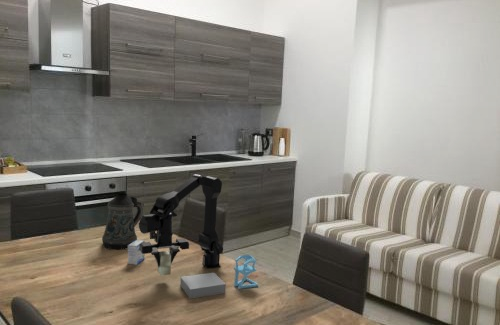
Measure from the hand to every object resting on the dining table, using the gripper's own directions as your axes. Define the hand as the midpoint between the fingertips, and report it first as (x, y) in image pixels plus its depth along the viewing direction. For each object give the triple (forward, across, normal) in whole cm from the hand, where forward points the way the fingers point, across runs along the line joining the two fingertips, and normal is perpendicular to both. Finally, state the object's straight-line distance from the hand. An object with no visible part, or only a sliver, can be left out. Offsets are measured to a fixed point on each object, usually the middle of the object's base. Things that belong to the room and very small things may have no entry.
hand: (164, 266), depth 175 cm
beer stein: (+6, +8, -51) cm, 52 cm away
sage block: (+3, 0, 0) cm, 3 cm away
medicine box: (+6, +6, -25) cm, 26 cm away
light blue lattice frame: (+6, -29, +14) cm, 33 cm away
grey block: (+7, -12, +12) cm, 18 cm away
